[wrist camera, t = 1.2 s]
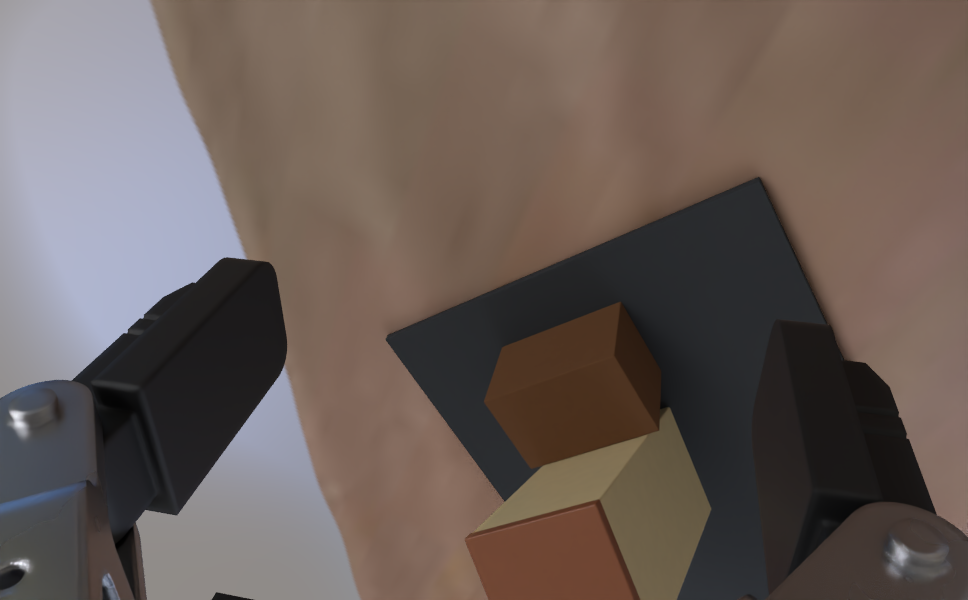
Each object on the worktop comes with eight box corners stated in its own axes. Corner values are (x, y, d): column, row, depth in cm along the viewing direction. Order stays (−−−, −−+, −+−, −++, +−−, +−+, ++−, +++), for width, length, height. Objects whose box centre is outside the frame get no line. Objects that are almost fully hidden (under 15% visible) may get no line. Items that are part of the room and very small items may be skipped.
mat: (387, 335, 37) (355, 391, 33) (759, 175, 29) (770, 227, 25) (608, 635, 45) (601, 708, 41) (943, 574, 37) (972, 657, 34)
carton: (519, 357, 35) (448, 590, 25) (619, 319, 33) (589, 557, 22) (614, 501, 39) (588, 762, 28) (710, 476, 37) (722, 748, 26)
